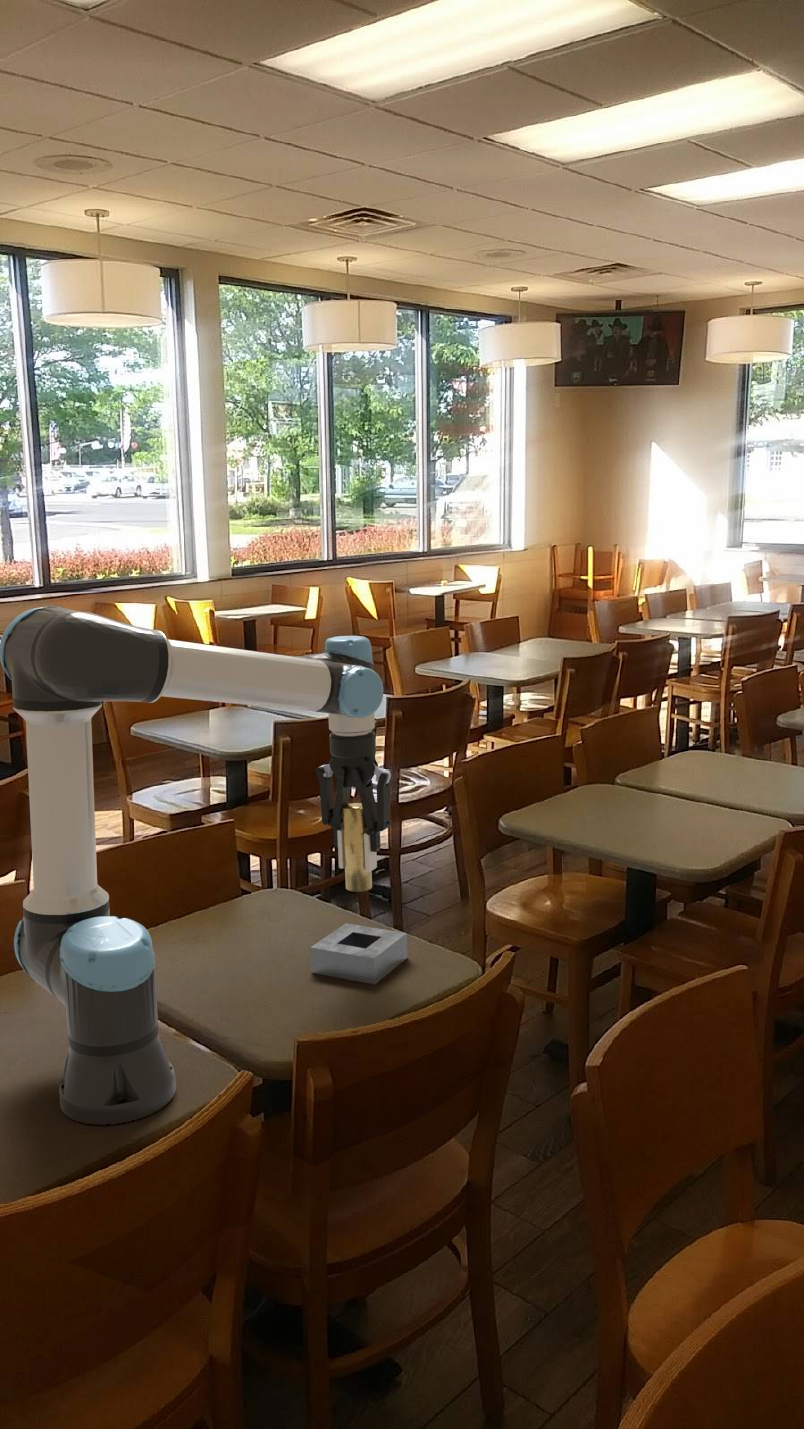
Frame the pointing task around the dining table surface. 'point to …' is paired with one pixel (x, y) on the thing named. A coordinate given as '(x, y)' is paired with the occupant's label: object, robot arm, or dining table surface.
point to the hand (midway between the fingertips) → (358, 867)
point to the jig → (359, 953)
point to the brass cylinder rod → (355, 848)
